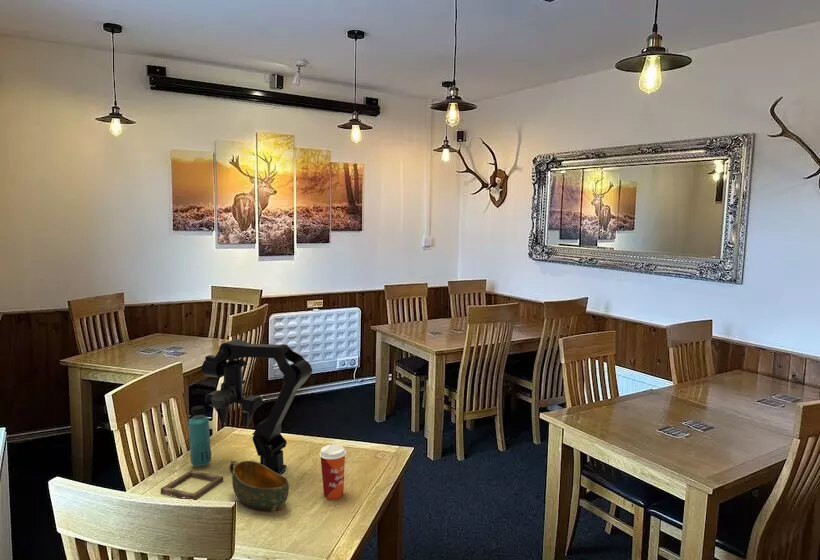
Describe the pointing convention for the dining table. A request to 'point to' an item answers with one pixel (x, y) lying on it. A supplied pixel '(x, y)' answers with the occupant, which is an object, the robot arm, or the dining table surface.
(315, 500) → the dining table surface
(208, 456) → the beverage bottle
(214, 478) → the walnut collar
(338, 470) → the paper cup
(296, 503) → the dining table surface
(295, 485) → the dining table surface
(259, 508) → the green bowl
